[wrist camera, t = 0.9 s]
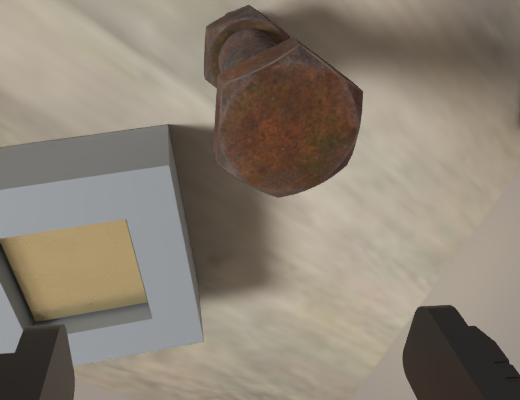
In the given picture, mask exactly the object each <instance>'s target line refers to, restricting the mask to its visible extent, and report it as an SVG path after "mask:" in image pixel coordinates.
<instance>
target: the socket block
mask: <svg viewBox="0 0 520 400" xmlns="http://www.w3.org/2000/svg"><path fill="white" fill-rule="evenodd" d="M123 219H126V221H127V225H128V228H129V232H130V236H131V240H132V243H133V247H134V251H135V255H136V258H137V262H138V266H139V270H140V273H141V277H142V281H143V285H144V288H145V292H146V296H147V300H148V302H147V303H141V304H135V305H130V306H124V307H118V308H113V309H107V310H101V311H96V312H90V313H84V314H78V315H73V316H67V317H61V318H56V319H50V320H44V321H39V322H36V321H35V319H34V317H33V315H32V312H31V310H30V308H29V306H28V303H27V301H26V299H25V297H24V294H23V292H22V290H21V288H20V285H19V283H18V281H17V279H16V276H15V274H14V272H13V270H12V267H11V265H10V263H9V261H8V258H7V256H6V254H5V252H4V250H3V247H2V245H1V243H0V354H3V353H15V351H16V348H17V345H18V343H19V340H20V337H21V334H22V332H23V330H24V328H25V327H27V326H40V325H59V324H64V325H65V327H66V330H67V335H68V341H69V346H70V352H71V358H72V363H73V366H77V365H82V364H88V363H93V362H98V361H104V360H109V359H114V358H120V357H125V356H130V355H136V354H141V353H146V352H152V351H157V350H162V349H168V348H173V347H178V346H184V345H189V344H194V343H200V342H204V339H203V329H202V319H201V308H200V298H199V288H198V282H197V276H196V271H195V266H194V261H193V255H192V250H191V245H190V239H189V234H188V229H187V223H186V218H185V213H184V208H183V202H182V197H181V192H180V186H179V181H178V176H177V170H176V165H175V160H174V154H173V149H172V144H171V139H170V133H169V128H168V125H161V126H153V127H146V128H139V129H131V130H124V131H117V132H109V133H102V134H95V135H87V136H80V137H73V138H66V139H58V140H51V141H44V142H36V143H29V144H22V145H14V146H7V147H0V239H1V238H8V237H14V236H20V235H27V234H33V233H40V232H46V231H52V230H59V229H65V228H71V227H78V226H84V225H91V224H97V223H103V222H110V221H116V220H123Z"/></svg>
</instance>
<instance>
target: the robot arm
mask: <svg viewBox="0 0 520 400" xmlns="http://www.w3.org/2000/svg"><path fill="white" fill-rule="evenodd" d="M519 117H520V114H519ZM403 367H404V371H405V374H406V377H407V379H408V381H409V383H410V385H411V387H412V390H413V392H414V394H415V395H416V397H417V400H520V375H519V373H518V372H517V370H516V369H515V368H514V366H513V365H510V364H509V360H508V358H507V357H506V356H505V354H504V353H503V352H502V351H501V349H500V348H499V346H498V345H497V344H496V342H495V341H493V340H492V339H491V338H490V337H488V336H487V335H486V334H485V333H483V332H482V331H481V330H480V329H478V328H477V327H476V326H468V325H467V324H466V322H465V321H464V319H463V318H462V317H461V315H460V314H459V312H458V311H457V310H456V308H454V307H453V306H451V305H440V306H422V307H418V308H417V310H416V312H415V315H414V318H413V321H412V324H411V328H410V331H409V334H408V337H407V341H406V344H405V347H404V350H403ZM74 387H75V377H74V369H73V363H72V358H71V352H70V346H69V341H68V335H67V330H66V327H65V325H64V324H59V325H40V326H27V327H25V328H24V330H23V332H22V334H21V337H20V340H19V343H18V345H17V348H16V351H15V353H3V354H0V400H73V398H74Z"/></svg>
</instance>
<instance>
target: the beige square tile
mask: <svg viewBox="0 0 520 400" xmlns="http://www.w3.org/2000/svg"><path fill="white" fill-rule="evenodd" d="M0 243H1V245H2V247H3V250H4V252H5V254H6V256H7V258H8V261H9V263H10V265H11V267H12V270H13V272H14V274H15V276H16V279H17V281H18V283H19V285H20V288H21V290H22V292H23V294H24V297H25V299H26V301H27V303H28V306H29V308H30V310H31V312H32V315H33V317H34V319H35V321H36V322H39V321H44V320H50V319H56V318H61V317H67V316H73V315H78V314H84V313H90V312H96V311H101V310H107V309H113V308H118V307H124V306H130V305H135V304H141V303H147V302H148V300H147V296H146V292H145V288H144V285H143V281H142V277H141V273H140V270H139V266H138V262H137V258H136V255H135V251H134V247H133V243H132V240H131V236H130V232H129V228H128V225H127V221H126V219H123V220H116V221H110V222H103V223H97V224H91V225H84V226H78V227H71V228H65V229H59V230H52V231H46V232H40V233H33V234H27V235H20V236H14V237H8V238H1V239H0Z"/></svg>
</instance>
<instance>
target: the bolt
mask: <svg viewBox="0 0 520 400" xmlns="http://www.w3.org/2000/svg"><path fill="white" fill-rule="evenodd" d="M204 76H205V79H206V80H207V81H208V82H209V83H211V84H212V85H213V86H215V87H216V88H217V95H216V111H215V127H214V143H213V152H214V156H215V161H216V163H217V164H218V165H220V166H221V167H222V168H224V169H225V170H226V171H228V172H229V173H230V174H232V175H233V176H235V177H236V178H238V179H239V180H241V181H242V182H244V183H246V184H248V185H250V186H252V187H254V188H256V189H258V190H259V191H262V192H264V193H266V194H268V195H272V196H275V197H278V198H279V197H284V196H288V195H293V194H296V193H299V192H302V191H305V190H308V189H310V188H313V187H315V186H317V185H319V184H321V183H323V182H325V181H326V180H328V179H329V178H331V177H332V176H334V175H335V174H337V173H338V172H339V171H340V170H342V169H343V168H344V167H345V166H347V164H348V162H349V160H350V158H351V156H352V153H353V150H354V147H355V144H356V140H357V136H358V132H359V128H360V123H361V115H362V101H363V91H362V90H361V89H360V88H359V87H358V86H357V85H355V84H354V83H353V82H352V81H351V80H349V79H348V78H347V77H345V76H344V75H343V74H341V73H340V72H339V71H337V70H336V69H335V68H334V67H332V66H331V65H330V64H328V63H327V62H326V61H324V60H323V59H322V58H320V57H319V56H318V55H316V54H315V53H314V52H312V51H311V50H310V49H308V48H307V47H306V46H304V45H303V44H302V43H300V42H299V41H298V40H296V39H295V38H294V37H292V38H291V37H290V36H289V35H288V34H287V33H286V32H285V31H283V30H282V29H281V28H280V27H278V26H277V25H276V24H274V23H273V22H272V21H270V20H269V19H268V18H267V17H265V16H264V15H263V14H261V13H260V12H259V11H257V10H256V9H254V8H253V7H251V6H250V5H247V6H245V7H242V8H240V9H237V10H235V11H233V12H229V13H226V15H225V16H223V17H221V18H220V19H218V20H216V21H214V22H213V23H211V24H210V25H208V26H206V35H205V52H204Z"/></svg>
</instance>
